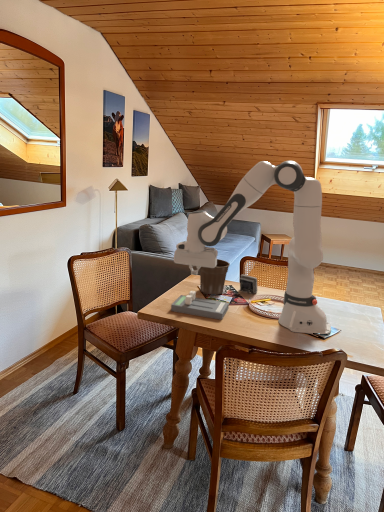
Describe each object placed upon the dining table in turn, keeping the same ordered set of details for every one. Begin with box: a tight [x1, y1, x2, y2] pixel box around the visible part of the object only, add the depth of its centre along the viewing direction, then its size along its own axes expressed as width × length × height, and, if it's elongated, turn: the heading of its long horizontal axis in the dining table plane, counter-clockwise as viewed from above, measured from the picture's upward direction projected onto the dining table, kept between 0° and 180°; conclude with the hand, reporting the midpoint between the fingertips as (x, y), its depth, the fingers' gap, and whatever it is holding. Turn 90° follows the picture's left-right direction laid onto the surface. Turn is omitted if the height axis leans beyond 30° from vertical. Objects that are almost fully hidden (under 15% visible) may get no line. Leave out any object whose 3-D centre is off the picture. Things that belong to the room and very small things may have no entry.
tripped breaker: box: [188, 290, 197, 300], centre depth 186 cm, size 2×3×4 cm
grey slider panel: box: [170, 294, 230, 321], centre depth 183 cm, size 24×14×3 cm, turn 74°
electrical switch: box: [239, 273, 258, 295], centre depth 210 cm, size 9×5×9 cm, turn 57°
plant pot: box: [199, 258, 230, 296], centre depth 207 cm, size 16×16×16 cm
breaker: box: [185, 294, 192, 305], centre depth 181 cm, size 2×3×4 cm
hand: (194, 274), depth 184 cm, fingers closed
